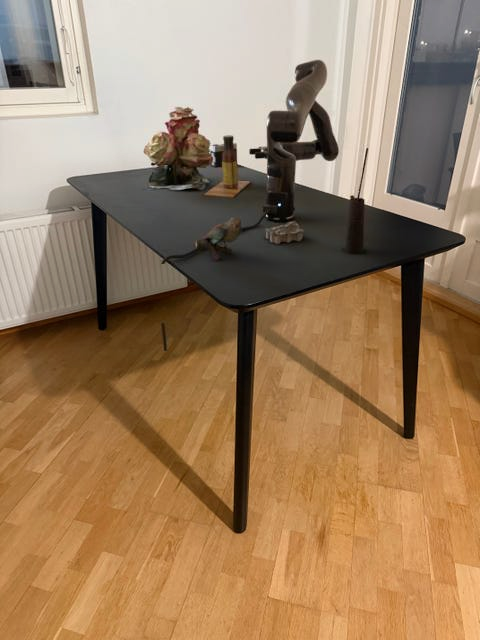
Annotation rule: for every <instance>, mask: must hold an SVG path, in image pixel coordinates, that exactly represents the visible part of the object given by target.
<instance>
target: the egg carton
mask: <svg viewBox="0 0 480 640" xmlns="http://www.w3.org/2000/svg"><path fill="white" fill-rule="evenodd" d="M264 230H265V233H266V235H265V238H266V239H267V240H269V241H270V243H271V244H272V243H273V244H277V245H278V244H280V243H291V241H297V242H300V241H302V240H303V236H304V233H305V231H304V229H302V228H300V226H299V224H298V223H297V222H296V220H294V221H288V222H286V223H285V224H281V225H280V226H273V227H271V228H264Z"/></svg>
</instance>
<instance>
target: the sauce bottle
mask: <svg viewBox="0 0 480 640" xmlns="http://www.w3.org/2000/svg"><path fill="white" fill-rule="evenodd" d="M234 139H235V138H234V135H229V134H227V135H223V136H222V140H223V144H224V150H223V152H222V166H221V169H222V171H221V172H222V181H223V184H224V187H225V188H236V187H238V181H239V170H238V169H239V168H238V153H237V154H236V151H235V149H234V146H233V143H234Z"/></svg>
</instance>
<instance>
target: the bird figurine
mask: <svg viewBox="0 0 480 640" xmlns="http://www.w3.org/2000/svg"><path fill="white" fill-rule="evenodd" d="M241 225H242V219H241V217H238V216H232V217H230V219H229V220H228V221H225V222H222V223H219V224H216V225H215V226H214V227H212V229H211V230H210V231H209V232H208V233H207V234H206V235H204V236H202V237H199V238H198V239H196V240H195V248H202V250H207V251H209V252H210V253H211V255H212V258H214V260H215V261H217V260H219V259H220V258H221V255H218V253H217V252H220V253H223V254H224V253H225V254H226V255H228V254H230V255H231V254H232V253H233V248H229V247H227V244H226V243H233V242H235V241H236V240H237V239H238V237H239V236H240V235H241V233H242V231H243V230H242V226H241ZM219 242H222V243H223V244H224V246H220V245H218V243H219Z"/></svg>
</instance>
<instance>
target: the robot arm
mask: <svg viewBox="0 0 480 640" xmlns="http://www.w3.org/2000/svg"><path fill="white" fill-rule="evenodd" d="M294 79H295V83H294V84H293V85H292V86H291V88H290V89H289V91H288V93H287V95H286V98H285V108H286V110H277V109H276V110H270V111H269V113H268V115H267V118H266V146H258V147H256V148H249V151H248V153H249V155H250V156H251V155H252V156H253V155H254V159H255V160H258V159H265V160H266V192H265V193H266V197H265V199H266V200H265V203H264V204H263V205H262V213H263V214H262V215H261V216H260V217H259V219H258V221H257V222H255V223H254V224H252V225H250V226H249V225H248V226H243V227H242V226H241V227H242V231H247V230H251V229H254V228H256V227H258V226H259V225H260V224H261V223H262V221H263V220H264V218H266V219H267V221H273V222H283V223H284V222H286V223H287V221H290V220H293V219H294V216H295V215H294V212H295V211H296V208H295V205H294V204H295V202H294V201H295V188H296V187H295V186H296V184H295V183H296V171H297V170H296V168H297V162H298V161H307V160H313V159H315V157H316V156H317V155H321V158H323V159H324V160H325V161H327V162H333V161H335V160H336V159H337V158H338V156H339V154H340V149H339V144H338V142H337V140H336V136H335V134H334V132H333V131H334V130H333V127H332V123H331V118H330V114H329V113H328V112H327V109H325V108H324V107H323V106H322V105H321V104H320V103H319V102H318V101H317V100H316V99H317V97H318V95H319V93H320V92H321V90H322V89H323V88H324V87H325V85H326V83H327V80H328V68H327V65H326V63H325V62H324V61H323V60H322V59H314V60H310V61H307V62H306V61H305V62H302V63H299V64H297V65H296V66H295V68H294ZM308 116H309V118H310V121H311V125H312V128H313V129H312V130H313V132H314V136H315V138H316V139H314V140H311V141H299V140H300V139H301V137H302V135H303V131H304V128H305V125H306V121H307V118H308ZM200 250H203V248H196V247H195V248H193V249H192V250H189V251H188V252H186V253H183V254H170V255H167V256H166V257H164V258H163V259H162V260H161V262H160V264H161V265H165V264H166V262H167V261H169V260H171V259H183V258H186V257H189V256H191V255H193V254H195V253H197V252H198V251H200ZM160 325H161V333H162V335H161V336H162V342H163V344H162V345H163V352H167V351H168V345H167V335H166V326H165V325H166V324H165V322H160Z"/></svg>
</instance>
